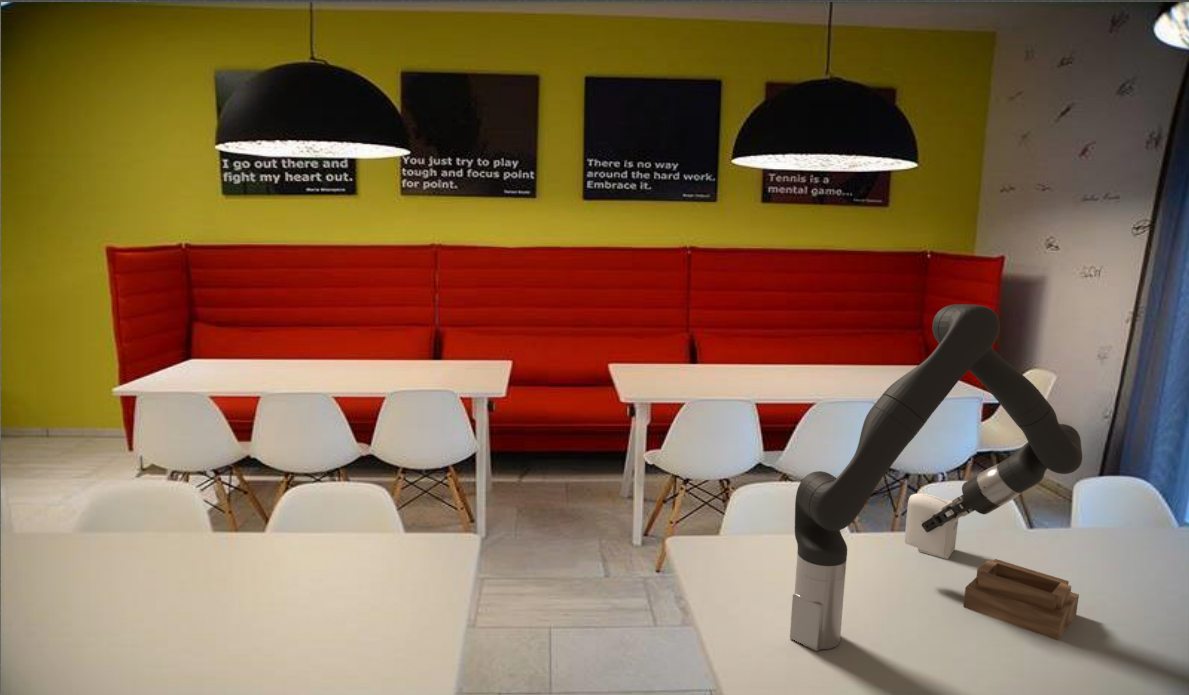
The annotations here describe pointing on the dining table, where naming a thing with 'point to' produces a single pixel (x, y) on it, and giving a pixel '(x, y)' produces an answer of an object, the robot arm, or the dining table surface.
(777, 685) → the dining table surface
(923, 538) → the photo printer
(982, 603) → the wooden holder
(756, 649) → the dining table surface
